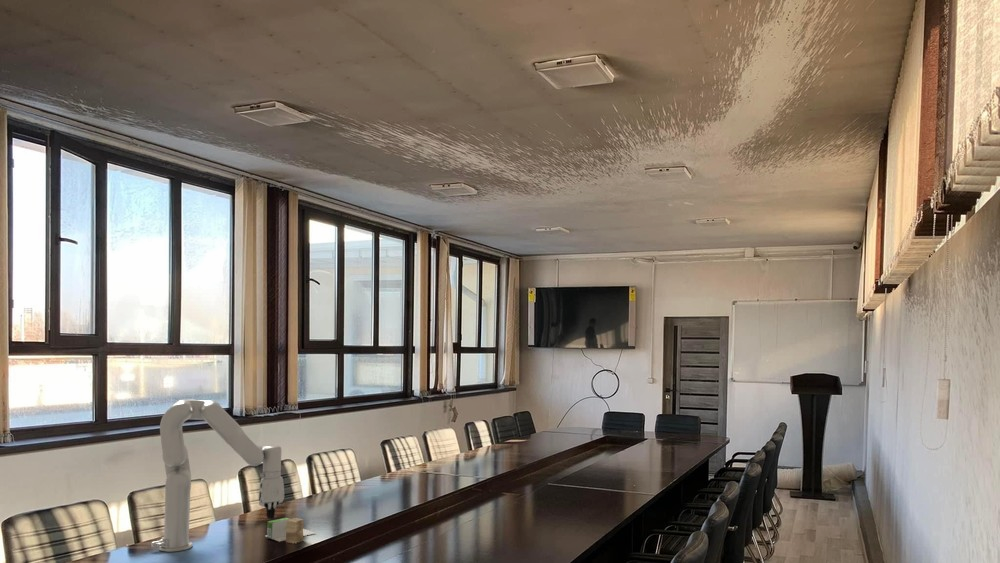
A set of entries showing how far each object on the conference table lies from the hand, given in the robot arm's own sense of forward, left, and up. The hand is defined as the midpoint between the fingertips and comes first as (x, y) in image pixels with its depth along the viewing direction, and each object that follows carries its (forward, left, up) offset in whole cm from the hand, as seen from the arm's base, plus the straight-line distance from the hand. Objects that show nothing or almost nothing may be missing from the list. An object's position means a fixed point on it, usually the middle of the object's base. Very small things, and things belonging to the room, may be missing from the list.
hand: (270, 517), depth 323 cm
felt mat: (+10, 0, -9) cm, 14 cm away
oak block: (+6, -10, -9) cm, 15 cm away
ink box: (-1, 0, -5) cm, 5 cm away
